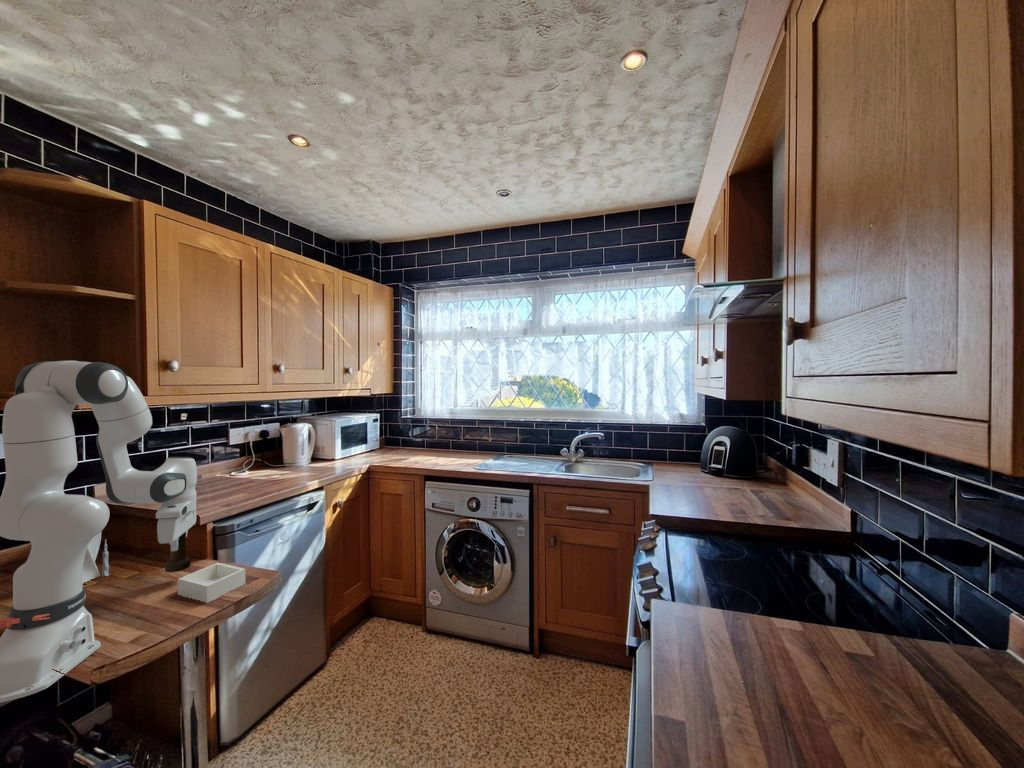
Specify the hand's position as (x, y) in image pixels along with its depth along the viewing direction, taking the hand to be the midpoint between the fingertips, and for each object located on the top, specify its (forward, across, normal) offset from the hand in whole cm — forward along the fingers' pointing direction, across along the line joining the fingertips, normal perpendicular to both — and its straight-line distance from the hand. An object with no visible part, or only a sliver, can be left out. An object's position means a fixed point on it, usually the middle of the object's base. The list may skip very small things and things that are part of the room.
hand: (178, 547), depth 133 cm
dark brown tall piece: (+7, 0, 0) cm, 7 cm away
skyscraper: (+12, -12, -29) cm, 33 cm away
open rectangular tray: (+11, +9, +12) cm, 19 cm away
